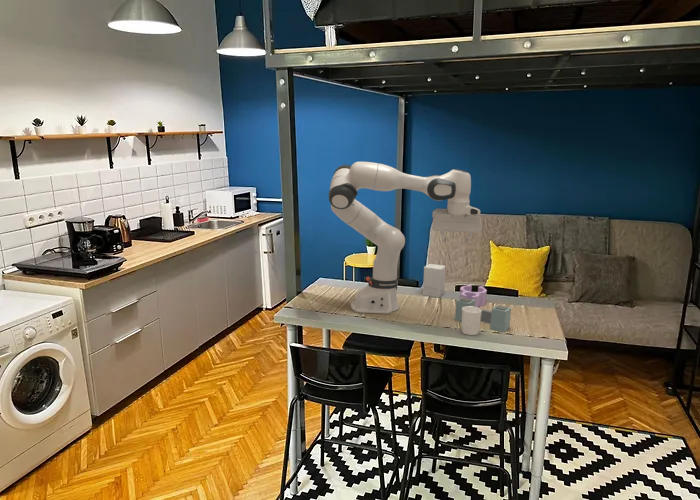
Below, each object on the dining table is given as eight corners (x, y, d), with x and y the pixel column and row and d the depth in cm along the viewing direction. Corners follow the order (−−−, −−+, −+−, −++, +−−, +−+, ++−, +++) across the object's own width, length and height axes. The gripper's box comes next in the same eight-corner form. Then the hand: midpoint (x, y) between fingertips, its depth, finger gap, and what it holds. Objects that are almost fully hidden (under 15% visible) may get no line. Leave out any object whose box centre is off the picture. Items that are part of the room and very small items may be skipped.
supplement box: (444, 293, 259) (446, 265, 256) (439, 298, 251) (441, 269, 248) (427, 290, 263) (429, 263, 260) (422, 295, 255) (423, 266, 252)
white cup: (476, 328, 211) (478, 306, 209) (482, 336, 203) (484, 312, 201) (458, 328, 210) (459, 306, 208) (463, 335, 203) (464, 312, 201)
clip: (481, 312, 232) (482, 298, 231) (454, 308, 237) (455, 294, 235) (487, 300, 250) (488, 286, 249) (462, 296, 255) (463, 283, 253)
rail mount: (504, 332, 208) (506, 310, 206) (454, 320, 220) (456, 299, 218) (510, 326, 214) (513, 305, 212) (462, 315, 227) (464, 295, 225)
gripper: (433, 209, 204) (431, 242, 207) (484, 211, 204) (481, 244, 207) (431, 207, 210) (429, 239, 213) (480, 209, 210) (477, 241, 213)
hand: (455, 242), depth 210 cm, fingers open, 8 cm apart
